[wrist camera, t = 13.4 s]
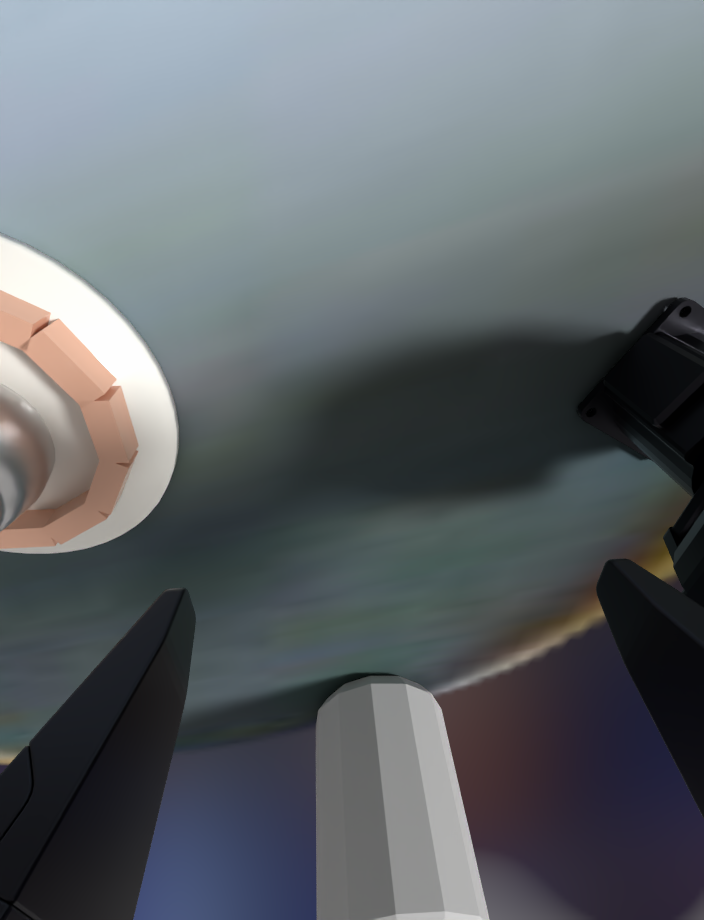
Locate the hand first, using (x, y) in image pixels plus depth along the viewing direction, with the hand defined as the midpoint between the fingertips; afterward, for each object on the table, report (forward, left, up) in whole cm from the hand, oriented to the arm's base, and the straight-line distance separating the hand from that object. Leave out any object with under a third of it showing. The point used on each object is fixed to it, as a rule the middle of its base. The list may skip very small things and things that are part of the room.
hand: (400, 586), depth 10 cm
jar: (-16, +24, -13) cm, 32 cm away
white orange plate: (+13, +10, -13) cm, 21 cm away
